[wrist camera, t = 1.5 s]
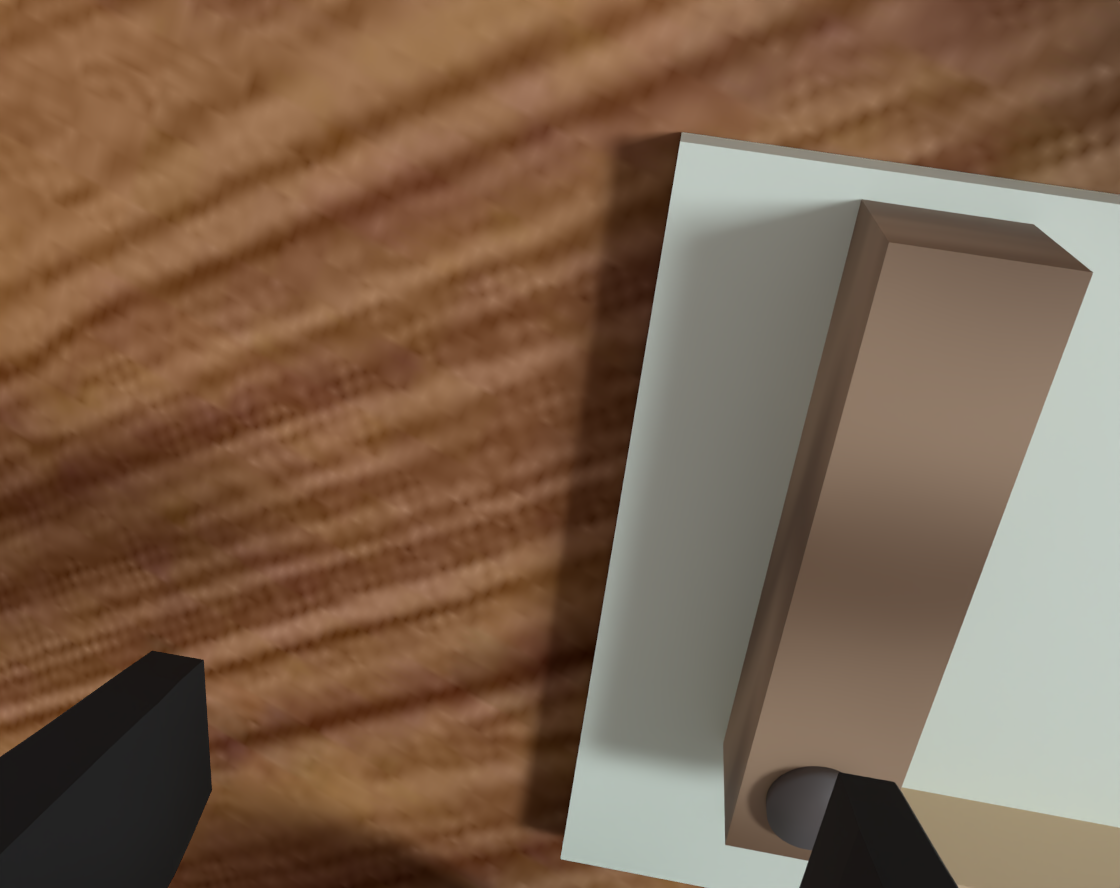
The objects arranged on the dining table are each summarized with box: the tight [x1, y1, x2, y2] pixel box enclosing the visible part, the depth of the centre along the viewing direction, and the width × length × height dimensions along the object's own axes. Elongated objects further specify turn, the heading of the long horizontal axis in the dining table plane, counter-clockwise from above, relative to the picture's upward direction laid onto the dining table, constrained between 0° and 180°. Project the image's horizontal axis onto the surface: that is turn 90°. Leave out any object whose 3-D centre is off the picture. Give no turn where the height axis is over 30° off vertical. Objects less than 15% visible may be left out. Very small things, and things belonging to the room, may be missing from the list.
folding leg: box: [723, 199, 1093, 861], centre depth 18 cm, size 12×3×3 cm, turn 173°
